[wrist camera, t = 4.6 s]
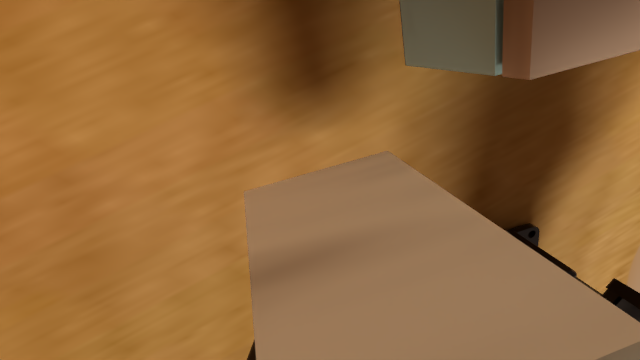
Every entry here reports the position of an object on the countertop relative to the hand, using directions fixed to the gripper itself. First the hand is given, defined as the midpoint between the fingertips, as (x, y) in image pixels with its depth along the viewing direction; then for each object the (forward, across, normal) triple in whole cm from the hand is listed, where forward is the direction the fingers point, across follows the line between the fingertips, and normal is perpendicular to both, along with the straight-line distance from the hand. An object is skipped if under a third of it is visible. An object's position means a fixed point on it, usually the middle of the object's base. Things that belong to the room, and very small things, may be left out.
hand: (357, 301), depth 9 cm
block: (+2, 0, 0) cm, 2 cm away
